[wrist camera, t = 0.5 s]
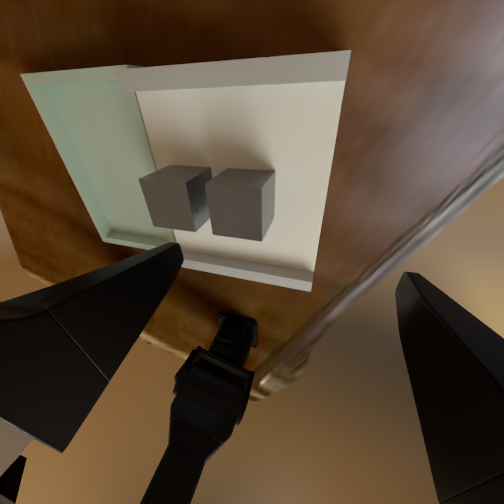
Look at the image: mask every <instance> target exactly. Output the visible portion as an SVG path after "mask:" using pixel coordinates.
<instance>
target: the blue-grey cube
mask: <svg viewBox="0 0 504 504" xmlns="http://www.w3.org/2000/svg"><path fill="white" fill-rule="evenodd" d="M275 175H276V171H274V170H255V169H236V168H227V169H225V170H224V171H223V172H221V173H220V174H218V175H217V176H215V177H214V178H213V179H211V180H210V181H208V182H207V183H205V189H206V195H207V202H208V208H209V214H210V221H211V227H212V234H213V235H218V236H225V237H232V238H239V239H246V240H253V241H261V242H262V241H263V239H264V237H265V235H266V233H267V231H268V229H269V227H270V225H271V223H272V221H273V219H274V212H275Z"/></svg>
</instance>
